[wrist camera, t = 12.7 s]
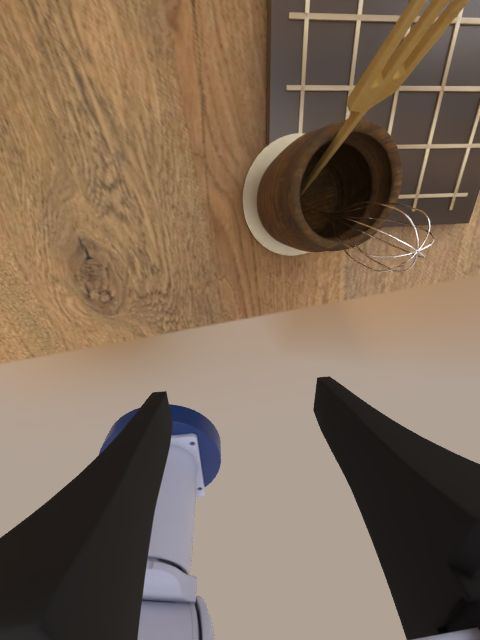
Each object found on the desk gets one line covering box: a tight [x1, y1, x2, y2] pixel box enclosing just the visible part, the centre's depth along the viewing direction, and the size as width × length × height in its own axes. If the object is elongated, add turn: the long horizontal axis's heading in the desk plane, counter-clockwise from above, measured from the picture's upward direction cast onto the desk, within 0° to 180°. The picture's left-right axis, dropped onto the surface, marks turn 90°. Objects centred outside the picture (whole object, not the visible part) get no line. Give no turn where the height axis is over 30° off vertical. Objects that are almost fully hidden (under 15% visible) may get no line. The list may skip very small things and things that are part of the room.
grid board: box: [243, 0, 480, 256], centre depth 15 cm, size 18×18×1 cm
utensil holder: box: [257, 0, 469, 272], centre depth 11 cm, size 6×6×12 cm
